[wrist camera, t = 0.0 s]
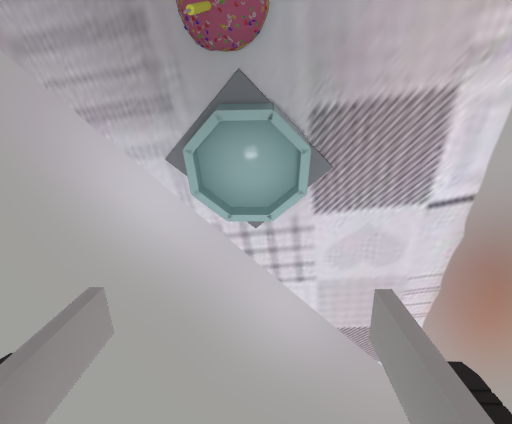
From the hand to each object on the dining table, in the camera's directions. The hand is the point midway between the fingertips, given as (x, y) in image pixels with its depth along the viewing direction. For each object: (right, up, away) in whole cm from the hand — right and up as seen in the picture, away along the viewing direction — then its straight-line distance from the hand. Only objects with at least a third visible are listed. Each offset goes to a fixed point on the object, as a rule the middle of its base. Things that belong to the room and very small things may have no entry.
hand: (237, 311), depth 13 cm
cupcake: (-2, +27, +15) cm, 31 cm away
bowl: (0, +12, +25) cm, 28 cm away
